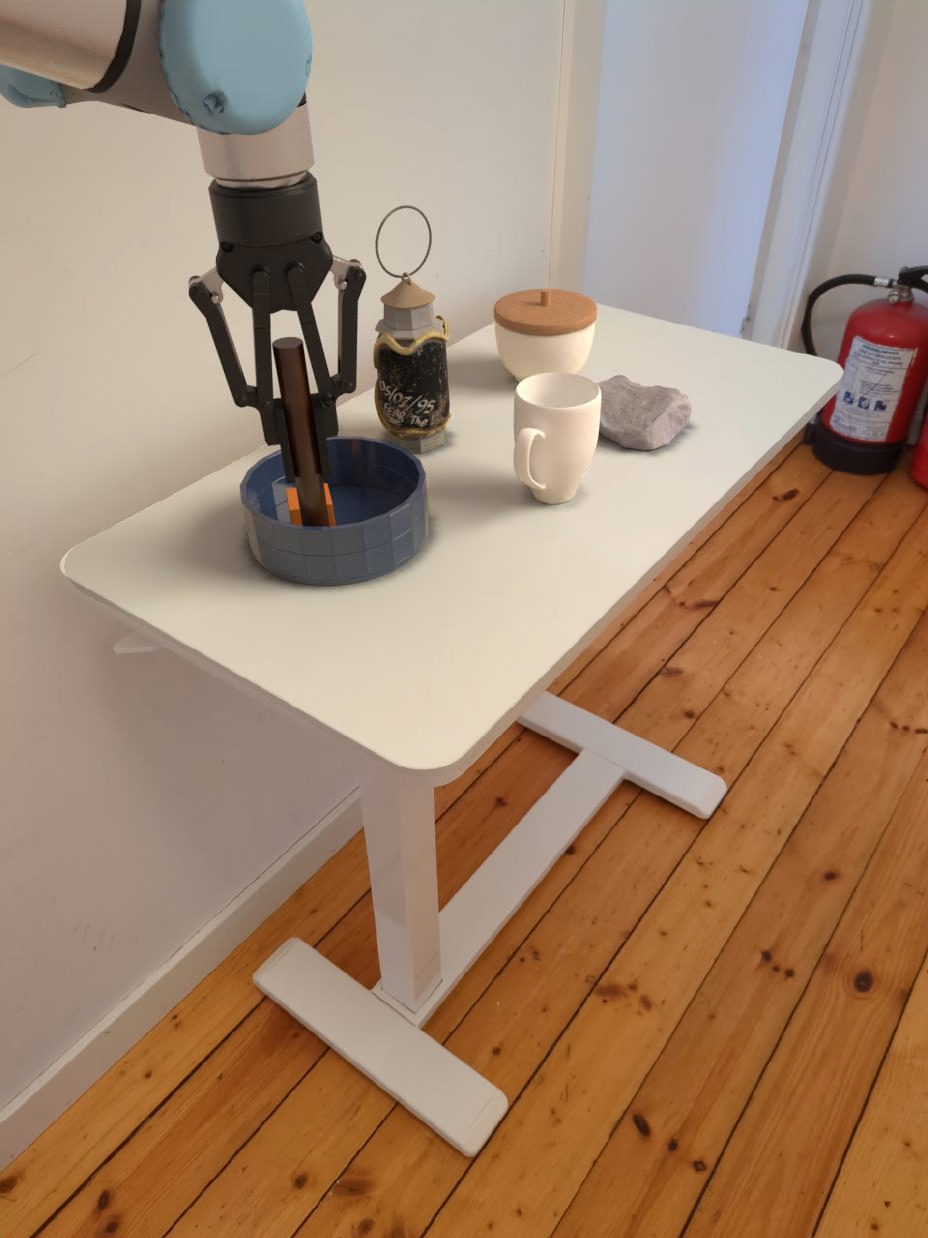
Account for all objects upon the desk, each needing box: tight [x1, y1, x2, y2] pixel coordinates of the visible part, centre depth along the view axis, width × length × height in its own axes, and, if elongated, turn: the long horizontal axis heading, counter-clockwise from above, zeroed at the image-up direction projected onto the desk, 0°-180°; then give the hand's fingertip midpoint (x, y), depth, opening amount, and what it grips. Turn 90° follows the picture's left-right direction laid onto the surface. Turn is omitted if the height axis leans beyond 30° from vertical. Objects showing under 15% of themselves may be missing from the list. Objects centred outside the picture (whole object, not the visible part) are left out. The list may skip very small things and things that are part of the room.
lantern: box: [372, 204, 452, 454], centre depth 94 cm, size 9×8×25 cm
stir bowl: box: [239, 435, 430, 586], centre depth 86 cm, size 17×17×6 cm
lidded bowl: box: [493, 287, 598, 384], centre depth 111 cm, size 13×13×11 cm
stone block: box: [596, 374, 692, 451], centre depth 103 cm, size 12×5×10 cm
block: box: [286, 483, 335, 527], centre depth 85 cm, size 4×4×4 cm
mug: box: [513, 372, 601, 505], centre depth 87 cm, size 12×8×11 cm
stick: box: [271, 336, 330, 527], centre depth 75 cm, size 2×2×18 cm
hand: (307, 472), depth 77 cm, fingers closed on stick, 2 cm apart
